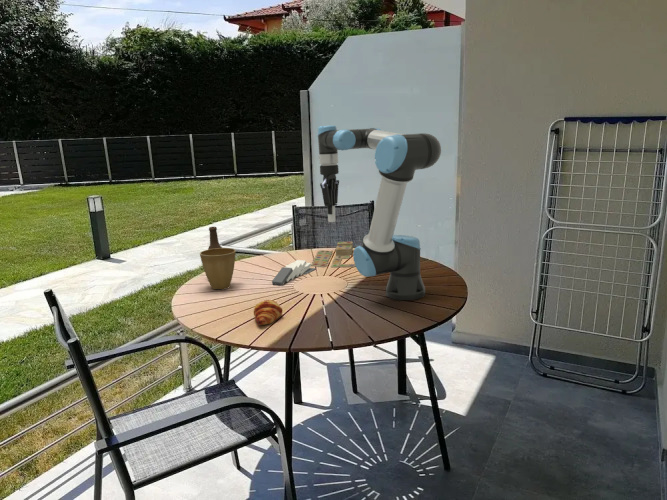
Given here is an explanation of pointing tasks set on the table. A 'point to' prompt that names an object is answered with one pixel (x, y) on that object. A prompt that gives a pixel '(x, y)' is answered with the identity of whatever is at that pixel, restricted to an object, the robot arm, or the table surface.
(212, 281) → the plant pot
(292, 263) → the domino
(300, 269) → the domino
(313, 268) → the mat
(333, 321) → the table surface
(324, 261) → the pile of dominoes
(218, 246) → the beer bottle
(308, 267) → the domino
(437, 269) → the table surface
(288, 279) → the domino
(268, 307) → the croissant
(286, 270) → the domino
